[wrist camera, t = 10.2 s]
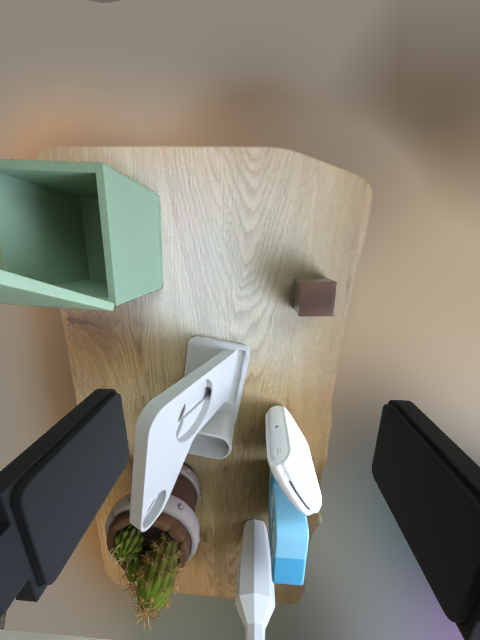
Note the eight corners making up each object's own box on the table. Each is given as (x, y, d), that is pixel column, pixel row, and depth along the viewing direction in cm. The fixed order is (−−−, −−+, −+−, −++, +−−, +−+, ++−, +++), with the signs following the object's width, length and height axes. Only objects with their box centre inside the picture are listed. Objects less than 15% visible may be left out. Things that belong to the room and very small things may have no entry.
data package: (270, 457, 44) (276, 530, 33) (295, 458, 44) (310, 533, 32) (267, 506, 47) (272, 588, 36) (291, 507, 47) (302, 591, 36)
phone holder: (233, 434, 43) (218, 557, 26) (177, 423, 43) (125, 539, 26) (251, 345, 38) (248, 425, 21) (188, 333, 38) (134, 402, 21)
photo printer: (261, 410, 41) (263, 474, 30) (283, 400, 41) (295, 462, 29) (288, 453, 44) (301, 529, 32) (310, 444, 43) (331, 519, 31)
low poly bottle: (271, 538, 50) (283, 750, 29) (240, 538, 50) (230, 746, 29) (270, 516, 48) (282, 724, 27) (238, 515, 49) (225, 719, 27)
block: (294, 278, 35) (300, 282, 31) (326, 277, 35) (336, 281, 30) (293, 308, 36) (299, 316, 32) (324, 308, 36) (333, 316, 32)
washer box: (77, 191, 33) (-26, 157, 21) (159, 195, 33) (103, 162, 21) (88, 282, 37) (6, 298, 25) (163, 287, 36) (116, 306, 24)
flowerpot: (151, 511, 50) (86, 675, 31) (124, 452, 46) (30, 598, 27) (218, 502, 48) (194, 671, 29) (197, 440, 44) (152, 588, 25)
